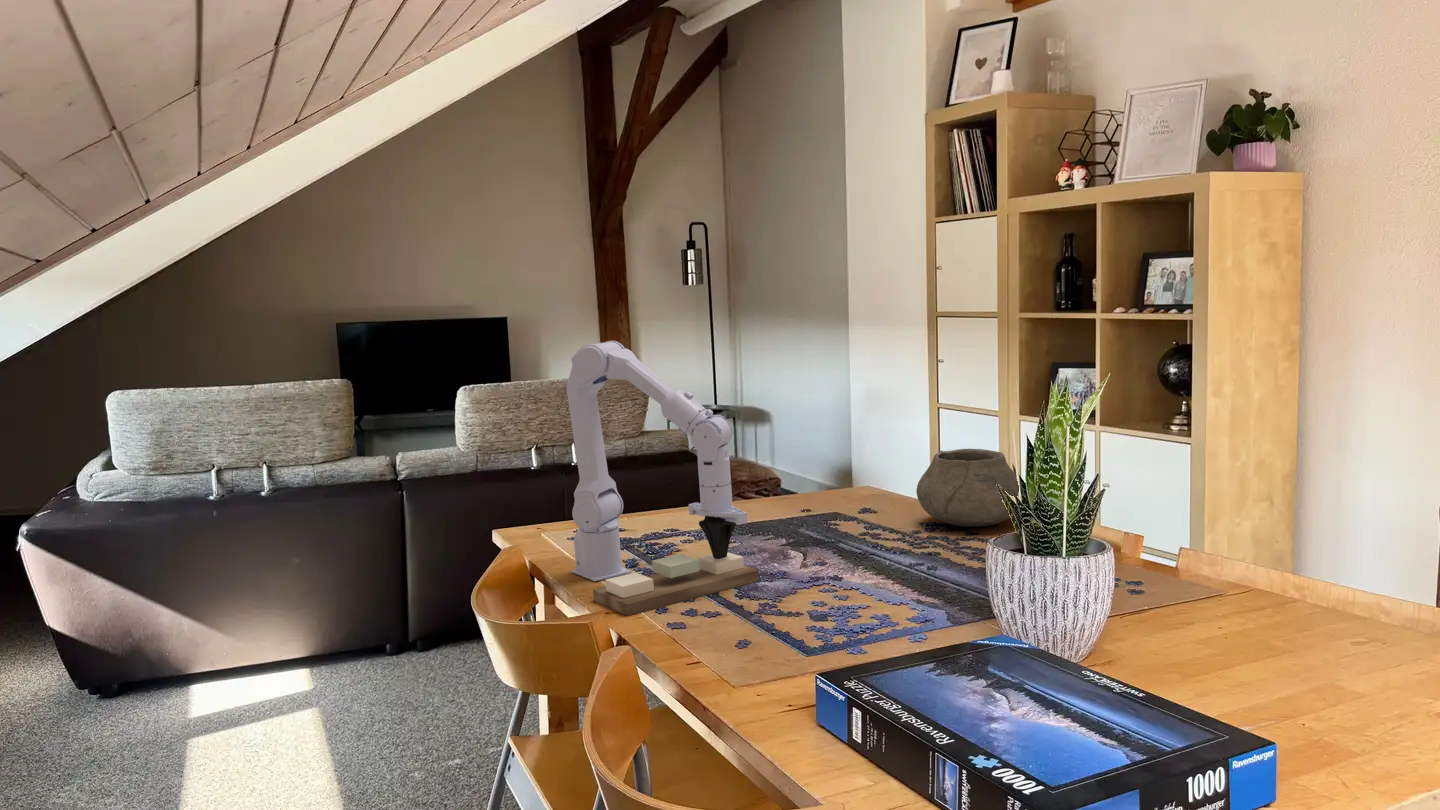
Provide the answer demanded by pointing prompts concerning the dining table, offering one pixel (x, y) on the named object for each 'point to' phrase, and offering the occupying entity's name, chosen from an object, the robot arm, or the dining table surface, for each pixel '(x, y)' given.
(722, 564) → the key
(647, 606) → the board
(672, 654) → the dining table surface
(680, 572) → the key middle
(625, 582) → the key
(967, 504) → the clay pot
